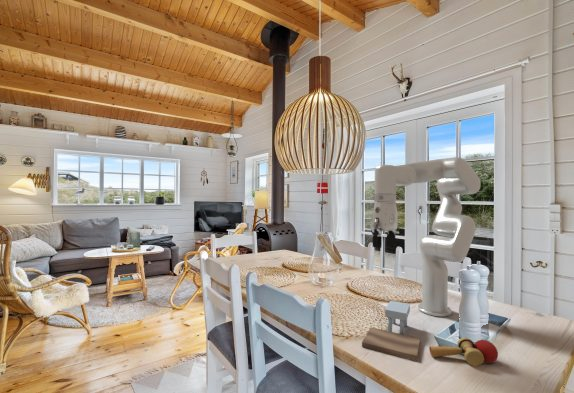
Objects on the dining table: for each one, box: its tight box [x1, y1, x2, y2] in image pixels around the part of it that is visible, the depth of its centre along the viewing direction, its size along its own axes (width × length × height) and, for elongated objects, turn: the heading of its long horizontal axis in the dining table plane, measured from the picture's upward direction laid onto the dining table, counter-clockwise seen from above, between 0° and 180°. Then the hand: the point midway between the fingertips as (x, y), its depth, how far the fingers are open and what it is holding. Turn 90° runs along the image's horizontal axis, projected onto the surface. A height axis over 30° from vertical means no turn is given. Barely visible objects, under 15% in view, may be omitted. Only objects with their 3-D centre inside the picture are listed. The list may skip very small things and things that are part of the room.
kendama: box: [429, 337, 499, 367], centre depth 86 cm, size 8×6×18 cm
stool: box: [384, 300, 411, 335], centre depth 105 cm, size 10×7×8 cm
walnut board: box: [361, 326, 421, 362], centre depth 94 cm, size 12×16×2 cm
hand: (384, 246), depth 106 cm, fingers open, 9 cm apart
